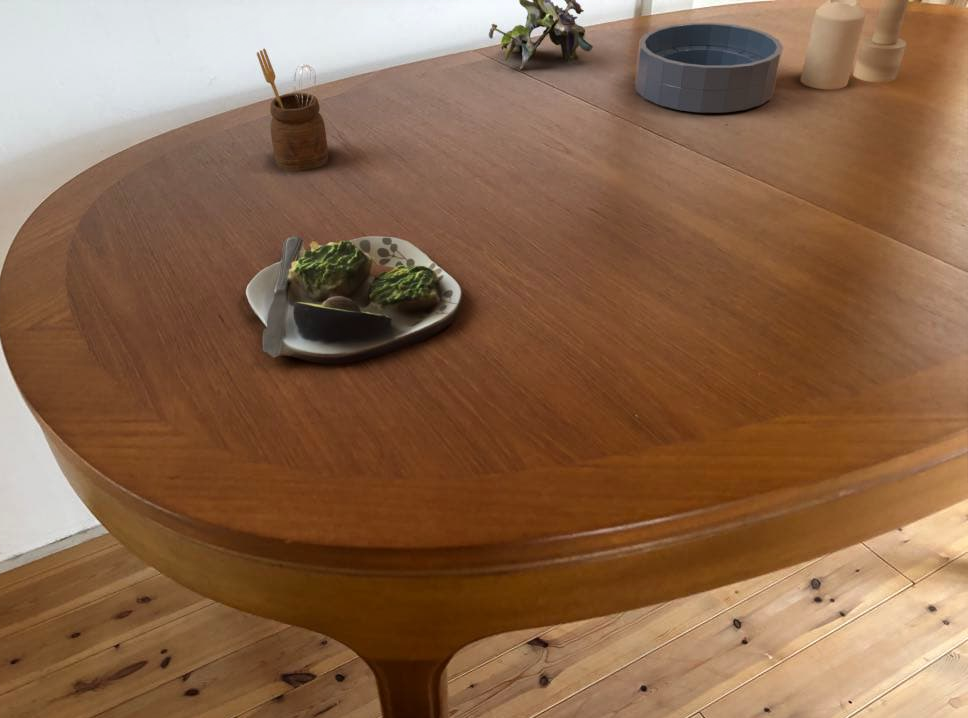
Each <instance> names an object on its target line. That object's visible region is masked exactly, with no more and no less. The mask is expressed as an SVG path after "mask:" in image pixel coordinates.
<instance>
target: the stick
mask: <svg viewBox="0 0 968 718" xmlns="http://www.w3.org/2000/svg"><path fill="white" fill-rule="evenodd" d="M909 1H910V0H882V2H881V5H880V9H879V12H878V16H877V20H876V23H875V27H874V31H873V34H872V35H868V36H864V37H863V38H862V39H861V41H860V45H859V48H858V53H857V57H856V60H855V63H854V68H853V71H852V75H853V76H854V78H856V79H858V80H861V81H863V82H869V83H875V84H876V83H877V84H883V83H891V82H893V81H895V80H896V79H897V77H898V73H899V70H900V67H901V64H902V60H903V57H904V53H905V51H906V47H907V42H906V41H905V40H904V39H902V38H899V36H900V32H901V28H902V26H903V22H904V18H905V15H906V12H907V9H908V5H909Z"/></svg>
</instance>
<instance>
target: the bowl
mask: <svg viewBox="0 0 968 718" xmlns="http://www.w3.org/2000/svg"><path fill="white" fill-rule="evenodd" d="M783 51H784V46H783V44H782V42H781V41H780V40H779V38H777V37H775V36H774V35H772V34H770V33H768V32H765V31H762V30H759V29H757V28H754V27H749V26H745V25H738V24H731V23H719V22H688V23H679V24H671V25H666V26H662V27H658V28H655V29H653V30H651V31H649V32H647V33H645V34H644V35H643V36H642V37H641V38H640V40H639V41H638V49H637V58H636V66H635V75H634V76H635V78H634V87H635V92H637V93H638V94H639V95H640V96H641V97H642V98H643V99H645V100H647V101H649V102H650V103H651V102H652V103H654V104H656V105H658V106H661V107H665V108H668V109H672V110H677V111H684V112H690V113H691V112H692V113H700V114H701V113H703V114H706V113H707V114H710V113H711V114H713V113H715V114H716V113H718V114H719V113H720V114H721V113H722V114H723V113H732V112H739V111H745V110H749V109H752V108H755V107H758V106H762V105H763V104H765V103H767V102H768V101H770V100H771V99H772V97H773V95H774V92H775V89H776V85H777V80H778V74H779V69H780V65H781V59H782V55H783Z"/></svg>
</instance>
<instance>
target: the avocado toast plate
mask: <svg viewBox="0 0 968 718" xmlns="http://www.w3.org/2000/svg"><path fill="white" fill-rule="evenodd" d="M304 243H305V242H304V240H303V238H302V237H300V236H296V235H294V236H289V237H287V238H286V239H285V240H284V242H283V245H282V254H281V259H280V261H278V262H276V263H272V264H271V265H269V266H266V267H264V268H263V269H261V270H260V271H259V272H258V273H257V274H256V275H255V276H253V278H252V279H251V280H250V281H249V283H248V284H247V287H246V289H245V295H246V298H247V301H248V303H249V306H250V307H251V309H252V311H253V312H254V314H255V315H256V316H257V317H258V318H259V320H260V321H261V322H262V323H263V324H264V327H265V328H264V329H263V331H262V351H263V352H264V353H265V354H267V355H269V356H270V357H272V358H276V357H280V356H285V357H293V358H296V359H300V360H302V361H306V362H309V363H316V364H323V365H343V364H351V363H356V362H360V361H365V360H367V359H371V358H372V359H373V358H376V357H380V356H383V355H385V354H388V353H391V352H394V351H398V350H400V349H403V348H407V347H409V346H412V345H415V344H418V343H422V342H423V341H426V340H427V339H430V338H431V337H433V336H435V335H436V334H438V333H439V332H441V331H443V330H444V329H445V328H446V327H447V326H449V325H450V324H451V323H452V322H453V321H454V320H455V318H456V316H457V315H458V313H459V311H460V309H461V306H462V300H463V291H462V287H461V286H460V284H459V282H457V281H456V280H455V279H454V278H453V277H452V276H451V275H450V274H449V273H448V272H446V271H445V270H444V269H443V268H441V267H440V266H438V264H437V263H436V262H435V261H433V260H431V258H429V256H428V255H427V254H426V253H425V252H423V251H422V250H421V249H420V248H418V247H417V246H415V245H414V244H413V243H411V242H409V241H407V240H404V239H401V238H397V237H392V236H391V237H390V236H379V235H378V236H363V237H358V238H354V239H350V240H340V241H339V242H331V241H330V242H328V243H327V244H323V245H319V244H318V242H317V240H312V241H309V243H308V244H309V246H310V249H311V250H308V249H305V245H304ZM373 265H377V266H378V265H379V266H382V267H383V266H384V267H388V268H393V269H391V270H390V271H387V270H384V271H382V272H380V273H378V275H377V276H374V275H372V274H371V269H372V266H373Z"/></svg>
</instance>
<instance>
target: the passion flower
mask: <svg viewBox="0 0 968 718" xmlns="http://www.w3.org/2000/svg"><path fill="white" fill-rule="evenodd" d="M518 2H519V5H520V6H521V7H523V8H524V9H525V10H526V12H527V15H526V20H525V21H526V22H525V25H522V24H518V25H515V26H514V27H513V28H512V29H511V30H509V31H507V32H504V31H502V30H500V29H499V28H498V24H495V23H492V24H491V27H490V29H489V32H488V37H489V39H493V37H494V32H495V31H496V32H497V33H500V34H502V35H503V36H502V37H501V42H500V48H501V50H504V49H505V50H506V52H505V55H504V60H505V61H507V60H508V58H509V57H510V55H511V53H512V52H513V50H514V49H515V52H516V53H521V58H522V59H521V63H520V67H519V69H518V70H519V71H522V70H523V69H524V67H525V65H526V64H527V62H529V61H530V60H531V59H532V57H533V58H534V55H535V54H536V53H537V48H538V47H539V46H540V45H541V43H542V42H543V41H544V39H545V38H546V37H547V36H549V39H550V41H551V42H552V43H553V44H554V45H555V46H560V49H561V55H562V58H563V59H564V60H566V61H575V62H579V60H580V59H579V56H578V55H577V49H578V47H579V48H580V49H581V50H582V51H584V52H588V53H589V52H590V51H592V49H593V47H594V45H592V44H591V43H589V42H588V41H587V40H586V38H587V37H588V36H587V35H586V29H585V28H584V26H582V25H579V24H577V23H576V21H575V20H577V19H578V16H574V14H571V13H570V12H569V11H570V10H574V11H575V13H576V14H577V15H581V14H582V13H583V12H585V9H582V6H581V5H580V4H579V2H577V0H564V2H565V3H566V7H565V9H563V7H559V5H555V4H554V2H553V1H551V0H532V1H530V0H518ZM540 27H541V28H545V29H544V30H543V32H542V34H541V35H540V36H539V38H537V40H536V41H535V42H533V41H532V40H531V34H532V32H533V30H535V29H538V28H540ZM527 44H528V45H527ZM508 45H510V46H509V49H508Z"/></svg>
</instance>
